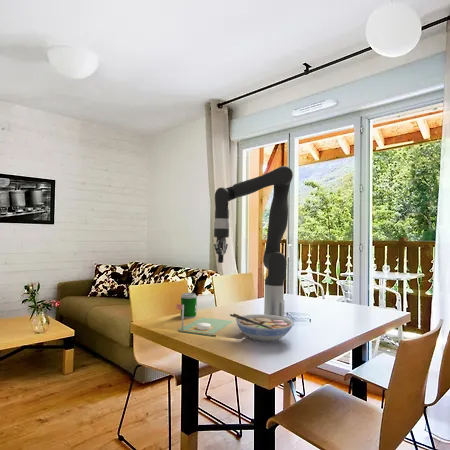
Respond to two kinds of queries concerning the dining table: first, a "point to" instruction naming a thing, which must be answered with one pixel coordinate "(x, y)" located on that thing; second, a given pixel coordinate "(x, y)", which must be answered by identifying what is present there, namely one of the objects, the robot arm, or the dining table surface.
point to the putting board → (215, 323)
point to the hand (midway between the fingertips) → (220, 262)
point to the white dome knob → (203, 326)
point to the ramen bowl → (263, 326)
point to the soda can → (189, 305)
